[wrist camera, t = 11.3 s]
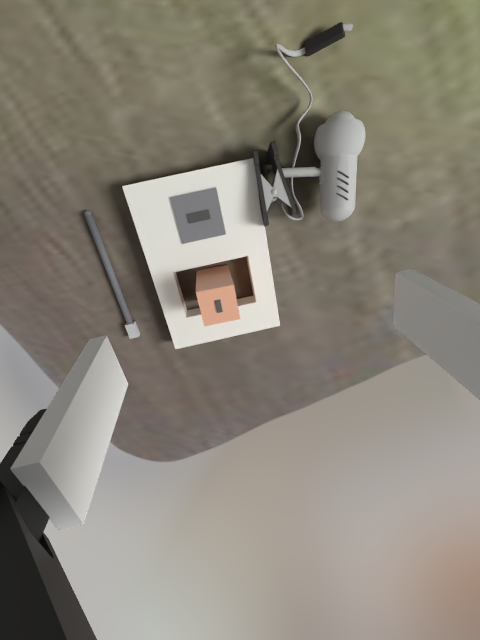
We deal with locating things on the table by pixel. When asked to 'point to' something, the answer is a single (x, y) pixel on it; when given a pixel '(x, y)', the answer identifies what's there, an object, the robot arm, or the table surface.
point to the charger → (216, 295)
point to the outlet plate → (204, 243)
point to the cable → (112, 276)
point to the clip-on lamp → (318, 152)
